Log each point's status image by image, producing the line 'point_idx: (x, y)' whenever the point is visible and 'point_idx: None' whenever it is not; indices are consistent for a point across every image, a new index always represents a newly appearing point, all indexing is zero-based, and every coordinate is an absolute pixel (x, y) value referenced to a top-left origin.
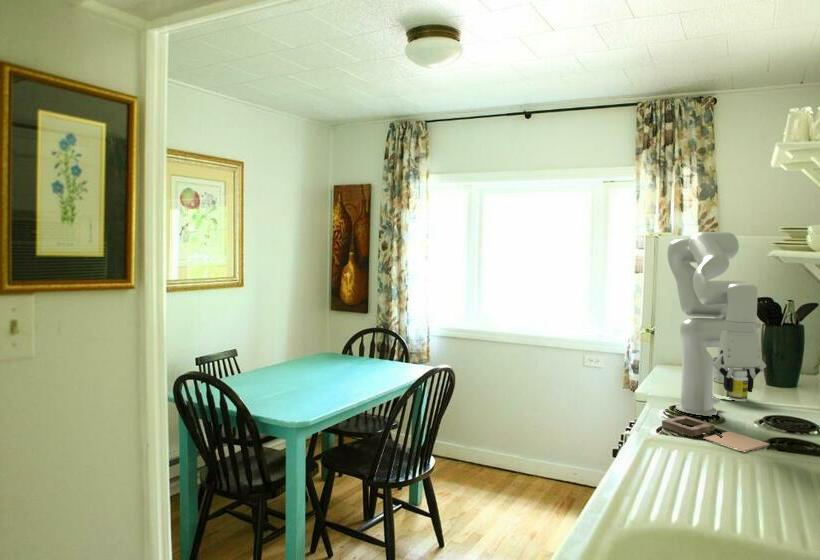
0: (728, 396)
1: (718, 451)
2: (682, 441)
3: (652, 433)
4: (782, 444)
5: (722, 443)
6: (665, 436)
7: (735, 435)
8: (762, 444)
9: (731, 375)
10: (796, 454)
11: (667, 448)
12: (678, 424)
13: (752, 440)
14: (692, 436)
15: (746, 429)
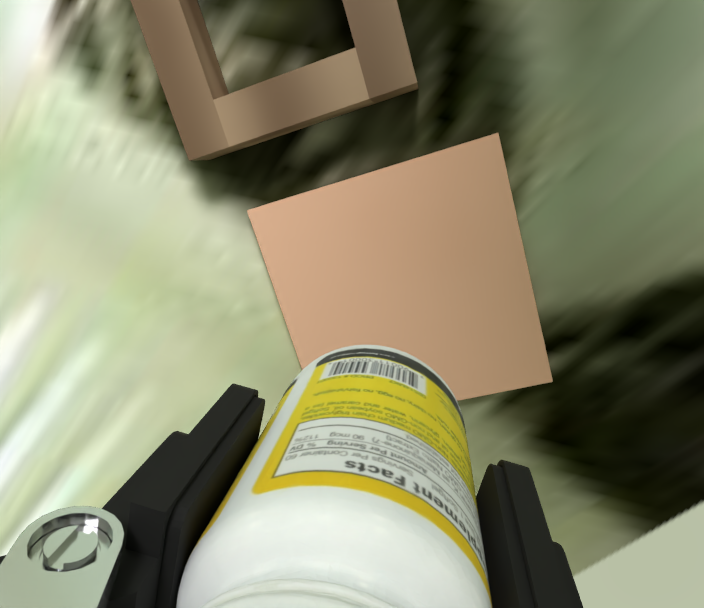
0: (293, 381)
1: (222, 374)
2: (124, 207)
3: (19, 38)
4: (648, 378)
5: (291, 317)
6: (71, 107)
7: (470, 218)
8: (499, 384)
9: (237, 568)
10: (573, 502)
11: (5, 281)
12: (164, 23)
13: (500, 317)
14: (211, 158)
15: (698, 77)
